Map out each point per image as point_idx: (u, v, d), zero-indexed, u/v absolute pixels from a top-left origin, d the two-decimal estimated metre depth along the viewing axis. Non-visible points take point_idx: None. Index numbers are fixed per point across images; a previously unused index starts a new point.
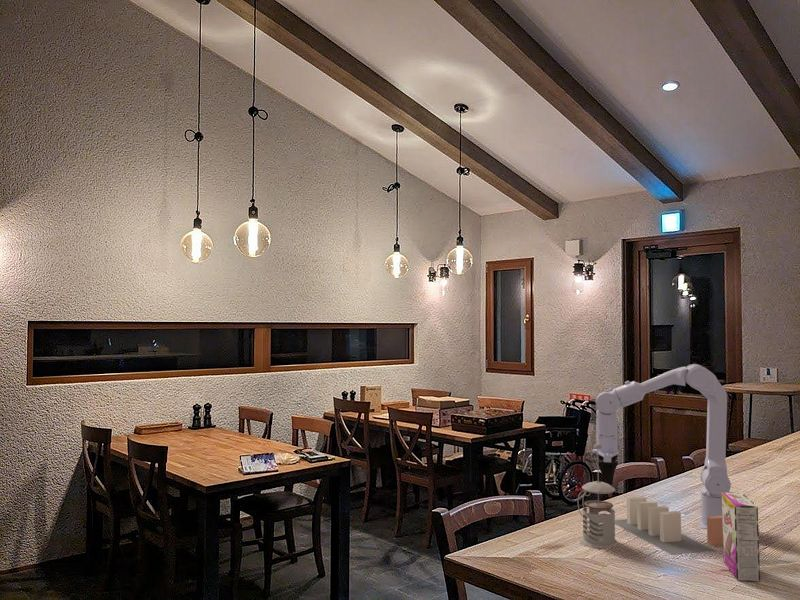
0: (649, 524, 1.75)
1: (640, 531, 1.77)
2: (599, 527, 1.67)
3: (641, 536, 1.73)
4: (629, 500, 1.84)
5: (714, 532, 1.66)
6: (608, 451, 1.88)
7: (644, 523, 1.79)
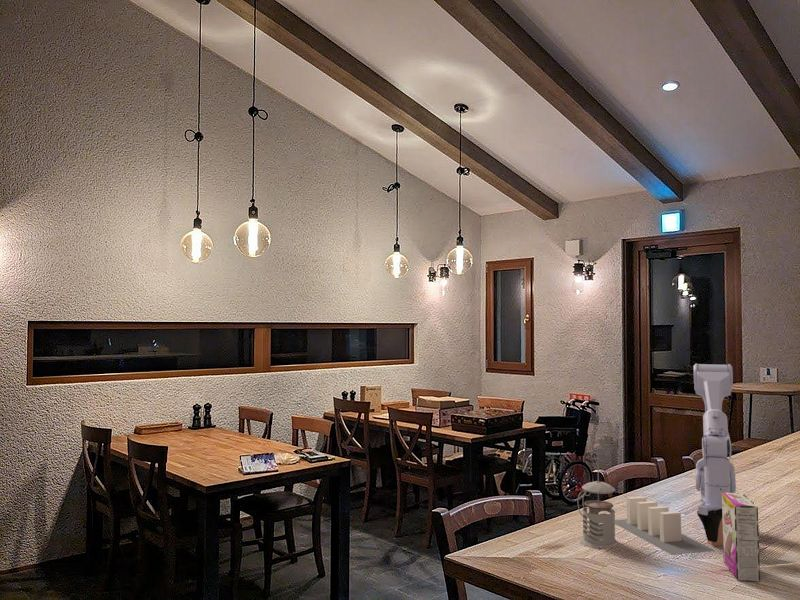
0: (649, 524, 1.75)
1: (640, 531, 1.77)
2: (599, 527, 1.67)
3: (641, 536, 1.73)
4: (629, 500, 1.84)
5: None
6: (712, 502, 1.66)
7: (644, 523, 1.79)
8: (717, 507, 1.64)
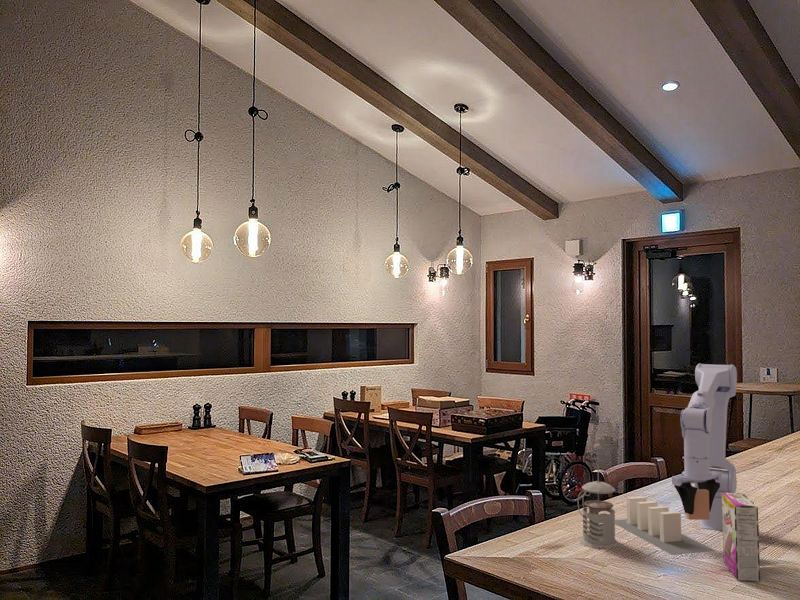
0: (649, 524, 1.75)
1: (640, 531, 1.77)
2: (599, 527, 1.67)
3: (641, 536, 1.73)
4: (629, 500, 1.84)
5: None
6: (689, 474, 1.65)
7: (644, 523, 1.79)
8: (692, 479, 1.63)
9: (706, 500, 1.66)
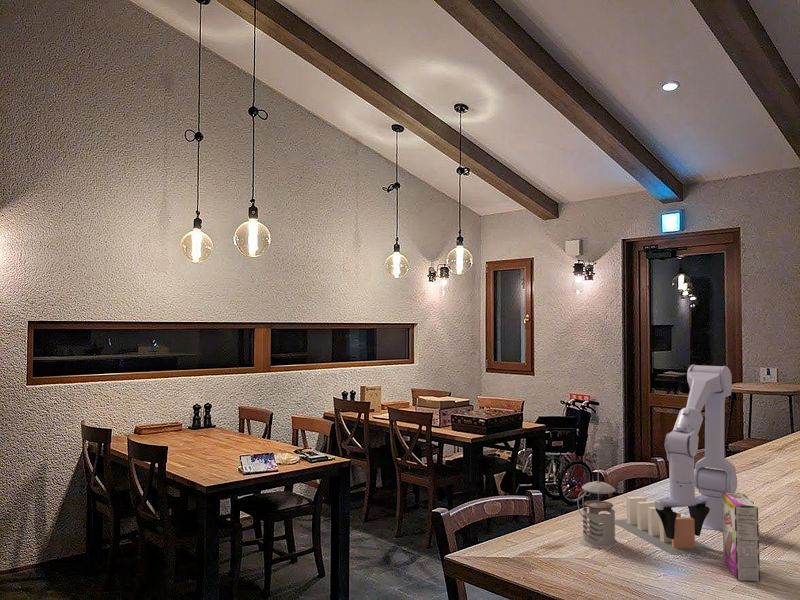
0: (649, 524, 1.75)
1: (640, 531, 1.77)
2: (599, 527, 1.67)
3: (641, 536, 1.73)
4: (629, 500, 1.84)
5: (676, 533, 1.65)
6: (673, 499, 1.64)
7: (644, 523, 1.79)
8: (675, 503, 1.63)
9: (691, 529, 1.64)
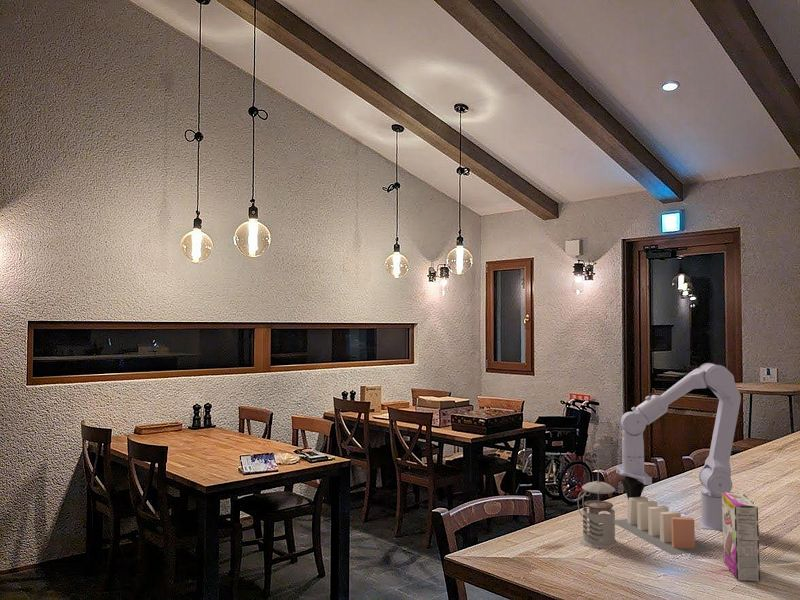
0: (649, 524, 1.75)
1: (640, 531, 1.77)
2: (599, 527, 1.67)
3: (641, 536, 1.73)
4: (631, 501, 1.83)
5: (676, 533, 1.65)
6: (640, 473, 1.84)
7: (644, 523, 1.79)
8: None
9: (691, 529, 1.64)
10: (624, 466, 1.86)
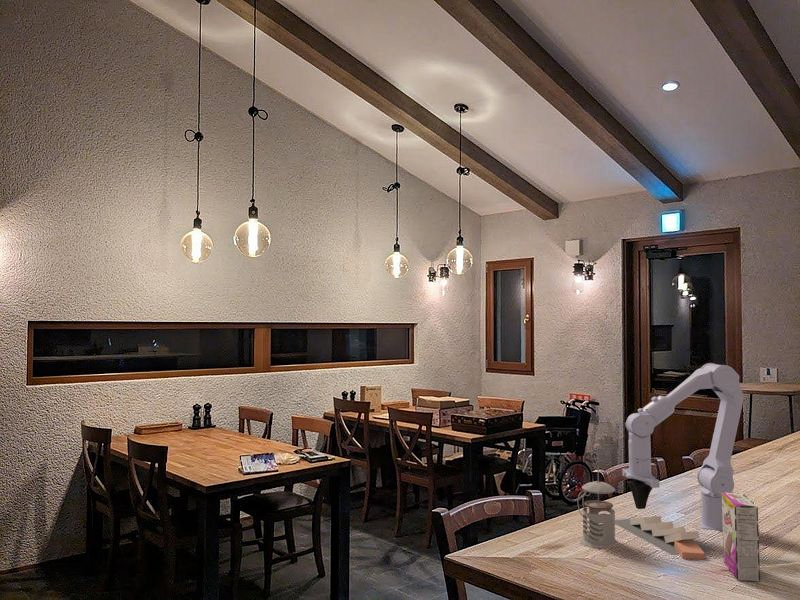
0: (657, 532, 1.71)
1: (640, 531, 1.77)
2: (599, 527, 1.67)
3: (641, 536, 1.73)
4: (643, 522, 1.77)
5: None
6: (647, 475, 1.80)
7: None
8: None
9: None
10: (631, 469, 1.82)
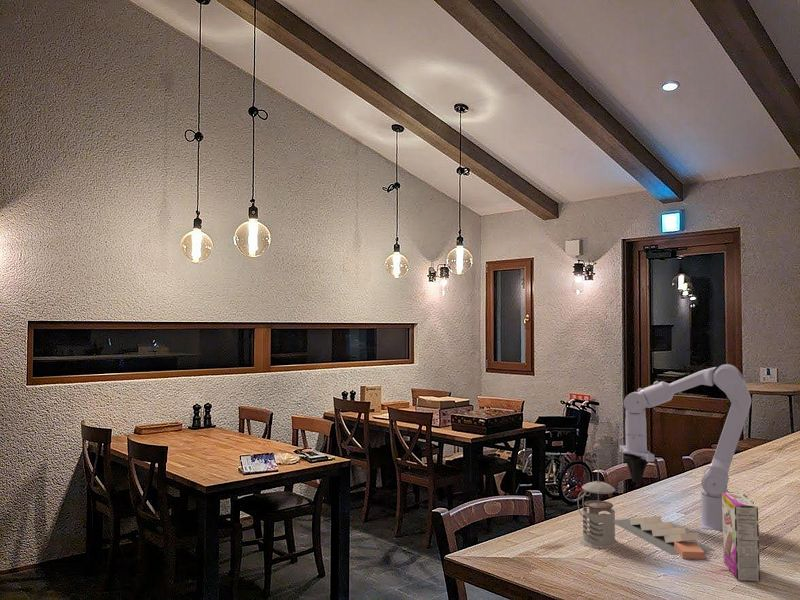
0: (657, 532, 1.71)
1: (640, 531, 1.77)
2: (599, 527, 1.67)
3: (641, 536, 1.73)
4: (643, 522, 1.77)
5: None
6: (643, 450, 1.90)
7: None
8: None
9: None
10: (627, 444, 1.92)
